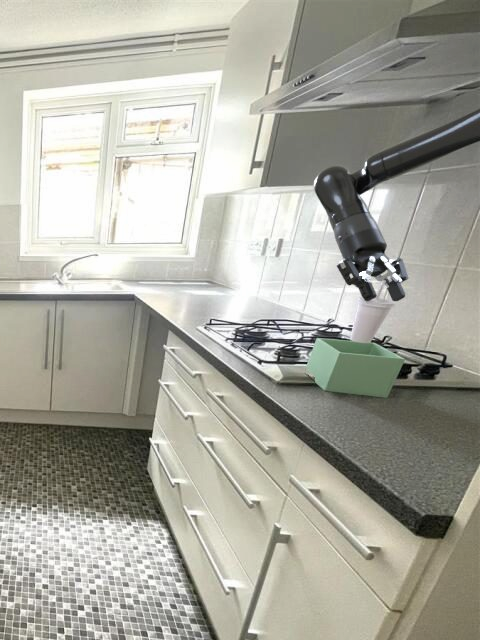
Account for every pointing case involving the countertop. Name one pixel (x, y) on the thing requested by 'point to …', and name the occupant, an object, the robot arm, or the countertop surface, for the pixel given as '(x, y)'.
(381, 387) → the bin
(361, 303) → the smoothie
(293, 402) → the countertop surface
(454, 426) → the countertop surface
